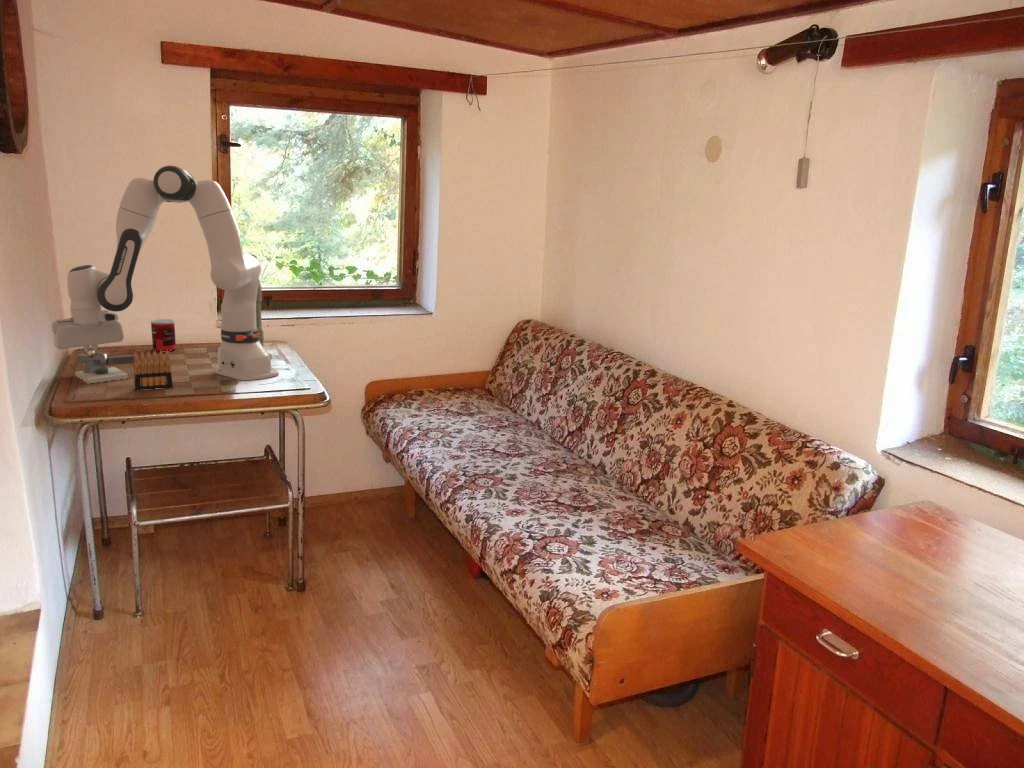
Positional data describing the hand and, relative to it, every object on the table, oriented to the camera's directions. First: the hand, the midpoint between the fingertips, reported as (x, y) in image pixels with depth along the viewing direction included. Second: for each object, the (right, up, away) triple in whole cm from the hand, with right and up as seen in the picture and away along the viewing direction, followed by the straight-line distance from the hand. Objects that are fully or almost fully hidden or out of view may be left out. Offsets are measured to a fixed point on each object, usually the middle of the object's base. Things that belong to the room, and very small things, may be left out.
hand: (91, 358), depth 264 cm
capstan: (+3, -4, -3) cm, 6 cm away
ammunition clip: (+26, -10, -13) cm, 30 cm away
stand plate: (+5, -6, -3) cm, 8 cm away
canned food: (+8, +4, +37) cm, 38 cm away
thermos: (+36, +6, +49) cm, 62 cm away
